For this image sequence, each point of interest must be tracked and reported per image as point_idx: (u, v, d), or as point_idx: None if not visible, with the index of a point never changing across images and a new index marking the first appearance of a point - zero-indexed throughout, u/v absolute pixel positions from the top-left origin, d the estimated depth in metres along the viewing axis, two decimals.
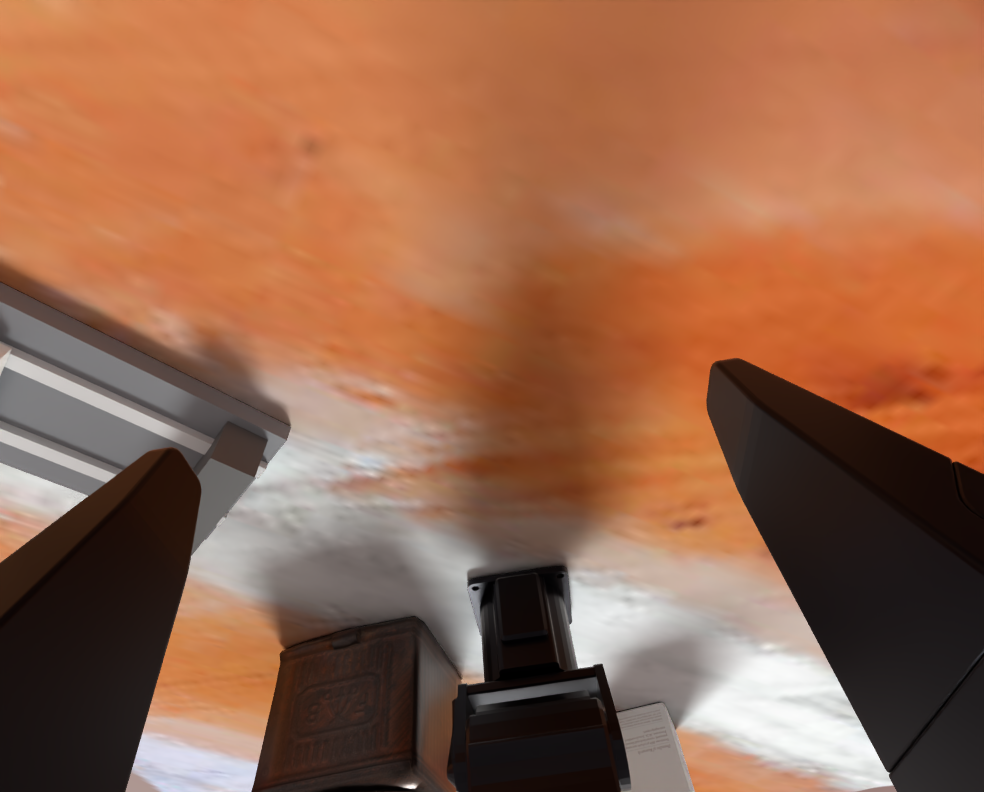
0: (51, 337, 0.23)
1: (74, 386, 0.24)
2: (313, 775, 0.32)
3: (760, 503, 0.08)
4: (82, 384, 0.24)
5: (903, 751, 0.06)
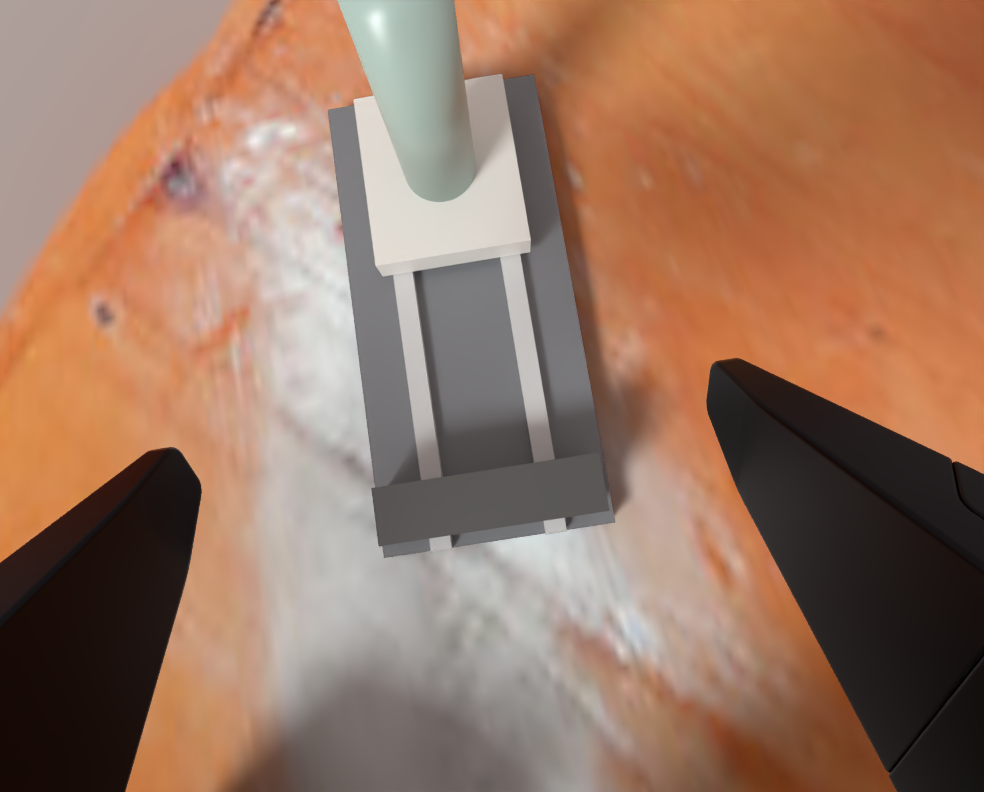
0: (556, 274, 0.23)
1: (524, 313, 0.22)
2: None
3: (760, 503, 0.08)
4: (531, 318, 0.22)
5: (903, 752, 0.06)
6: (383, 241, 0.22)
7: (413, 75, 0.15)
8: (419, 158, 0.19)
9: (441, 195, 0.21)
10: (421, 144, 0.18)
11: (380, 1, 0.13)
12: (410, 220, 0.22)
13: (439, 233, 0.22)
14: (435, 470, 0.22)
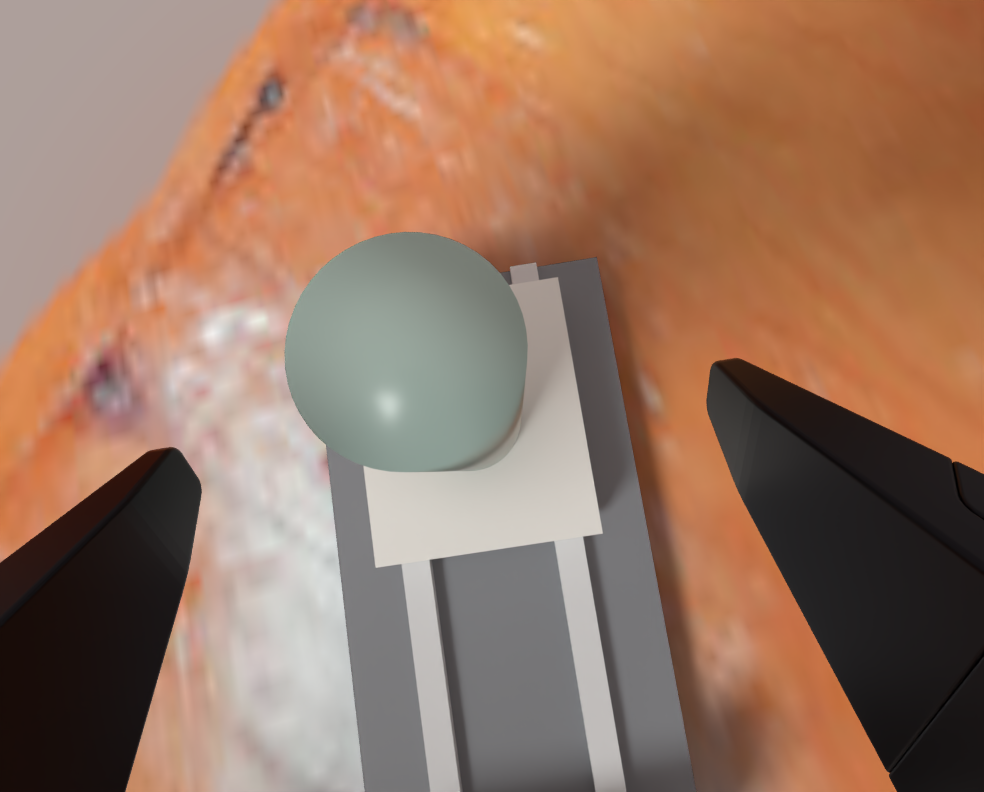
0: (632, 554, 0.16)
1: (589, 620, 0.16)
2: None
3: (760, 503, 0.08)
4: (598, 626, 0.16)
5: (904, 751, 0.06)
6: (387, 530, 0.15)
7: (446, 469, 0.08)
8: None
9: None
10: None
11: (386, 421, 0.06)
12: (426, 498, 0.15)
13: (468, 519, 0.15)
14: None
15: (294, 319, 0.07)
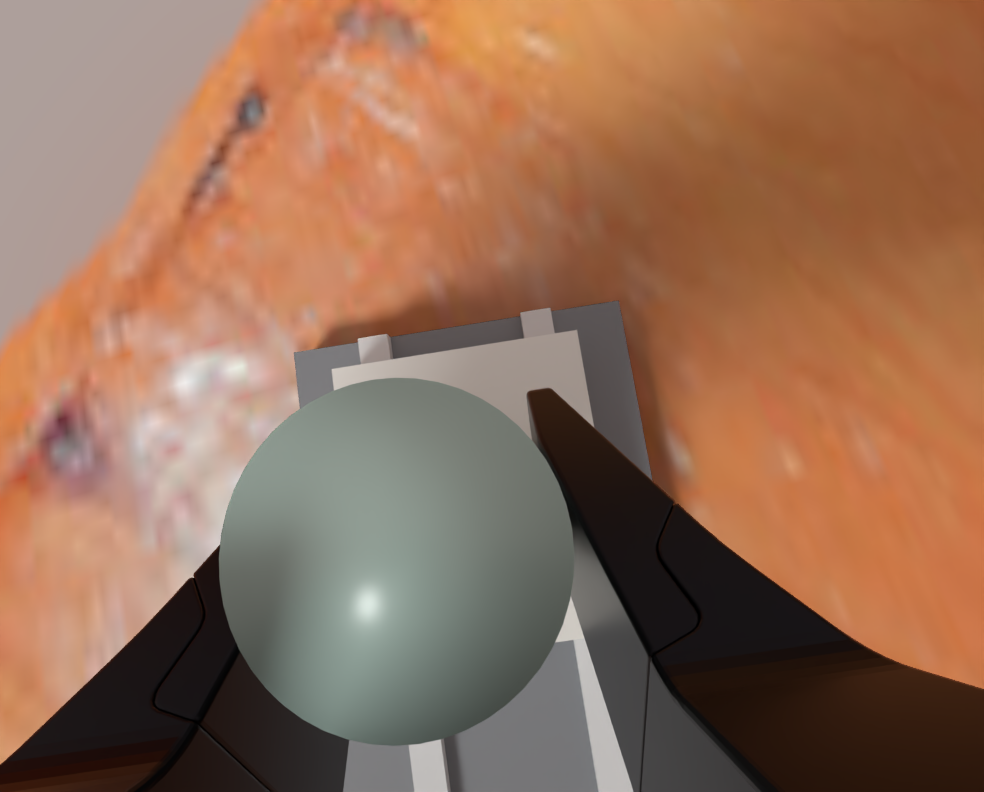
0: None
1: None
2: None
3: None
4: None
5: (640, 788, 0.06)
6: None
7: None
8: None
9: None
10: None
11: (367, 665, 0.04)
12: None
13: None
14: None
15: (234, 507, 0.04)
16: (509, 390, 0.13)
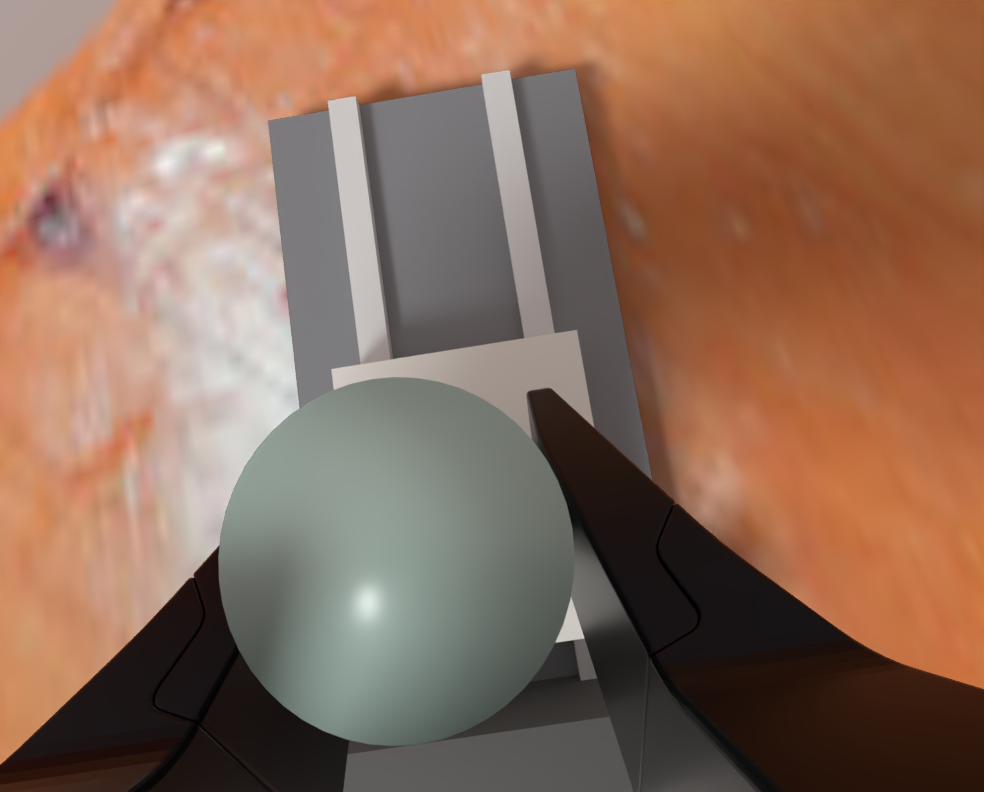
0: (611, 374, 0.15)
1: None
2: None
3: None
4: None
5: (639, 790, 0.06)
6: None
7: None
8: None
9: None
10: None
11: (366, 666, 0.04)
12: None
13: None
14: None
15: (233, 507, 0.04)
16: (509, 390, 0.13)
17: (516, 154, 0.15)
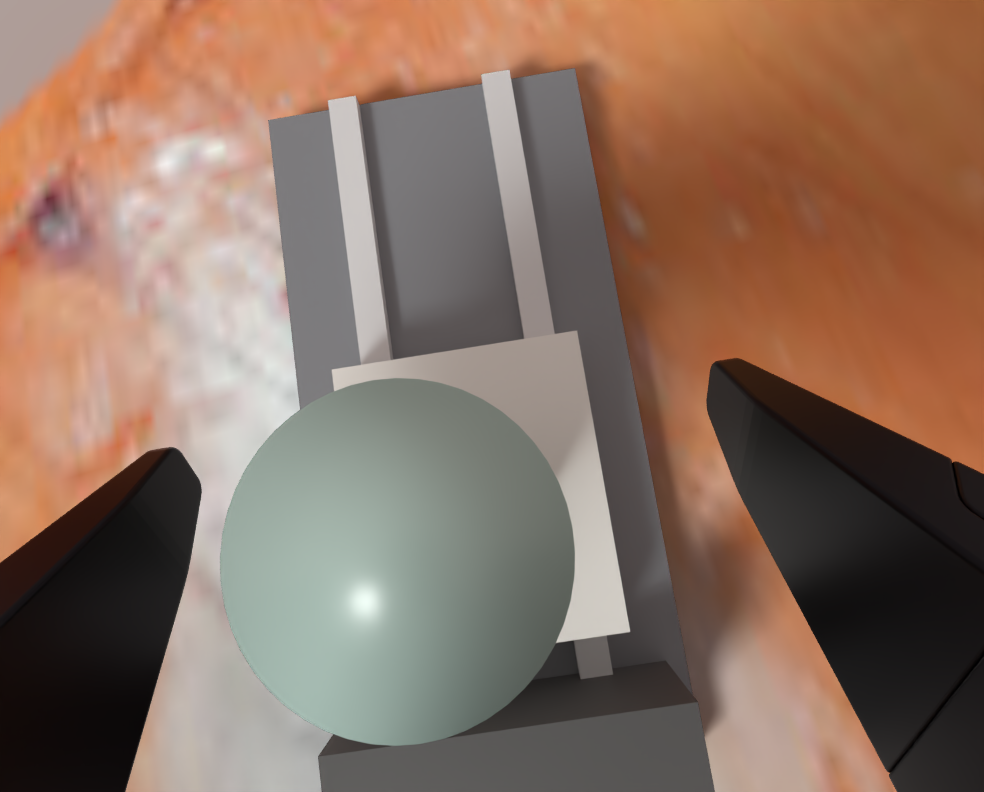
0: (611, 373, 0.15)
1: None
2: None
3: (760, 503, 0.08)
4: None
5: (904, 752, 0.06)
6: None
7: None
8: None
9: None
10: None
11: (368, 666, 0.04)
12: None
13: None
14: None
15: (234, 508, 0.05)
16: (509, 390, 0.13)
17: (516, 153, 0.16)
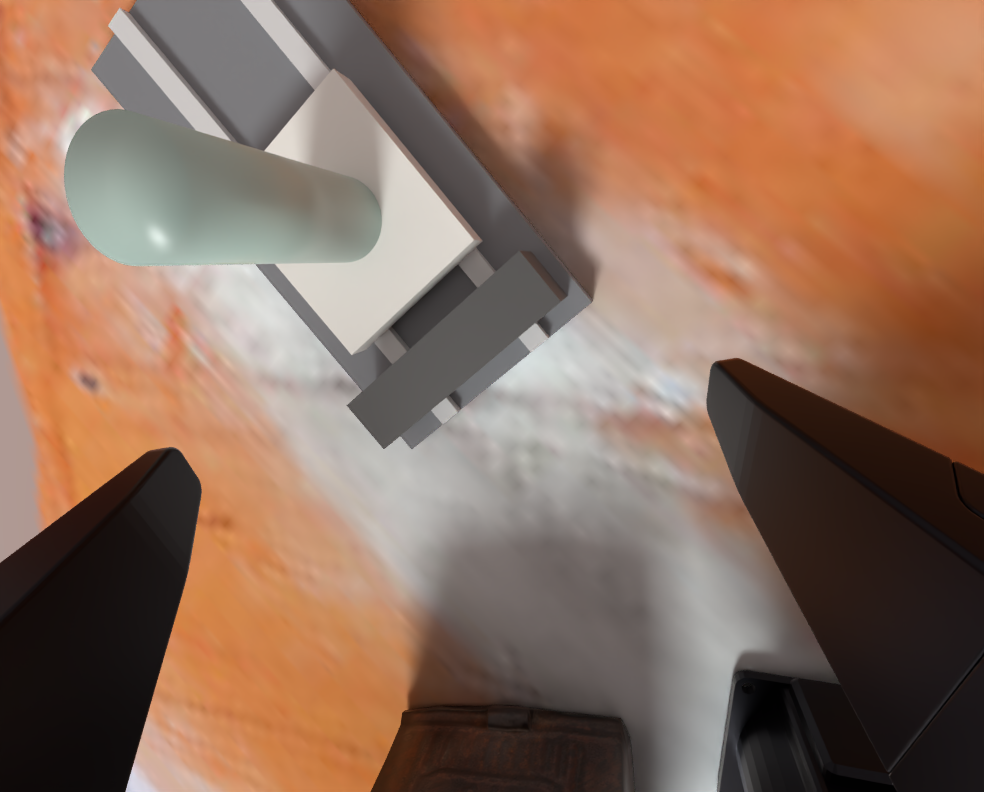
0: (393, 83, 0.19)
1: None
2: None
3: (760, 503, 0.08)
4: None
5: (904, 751, 0.06)
6: (343, 327, 0.20)
7: (237, 247, 0.12)
8: (312, 259, 0.16)
9: (361, 253, 0.19)
10: (302, 256, 0.15)
11: (145, 234, 0.11)
12: (352, 292, 0.20)
13: (385, 288, 0.19)
14: (402, 353, 0.21)
15: (73, 213, 0.11)
16: (320, 140, 0.19)
17: None
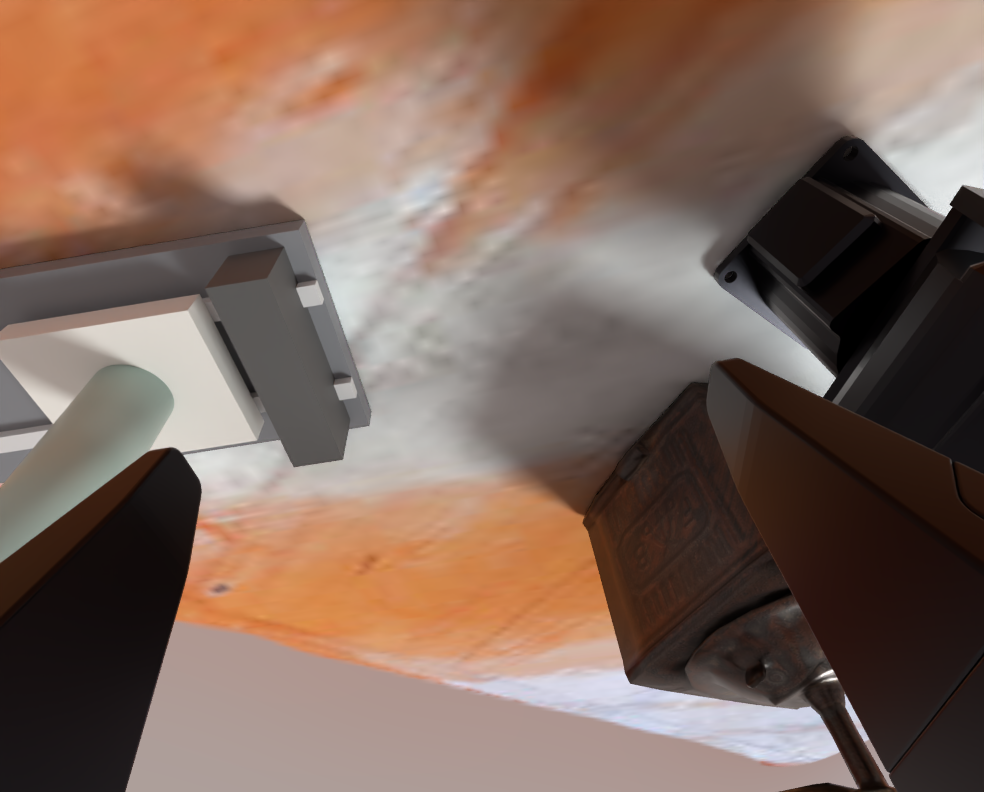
0: (23, 290, 0.20)
1: None
2: (677, 620, 0.22)
3: (760, 503, 0.08)
4: None
5: (903, 751, 0.06)
6: (230, 435, 0.22)
7: None
8: (139, 456, 0.19)
9: (165, 400, 0.20)
10: None
11: None
12: (201, 416, 0.22)
13: (207, 393, 0.21)
14: None
15: None
16: (53, 380, 0.20)
17: None
